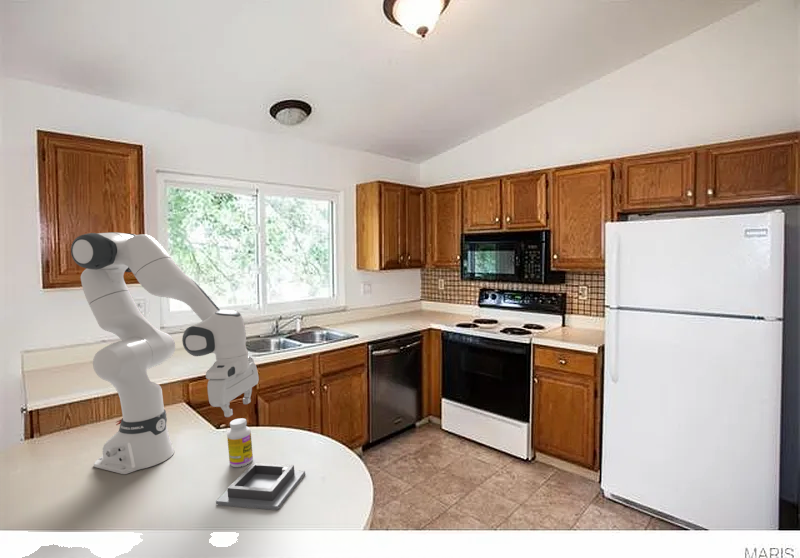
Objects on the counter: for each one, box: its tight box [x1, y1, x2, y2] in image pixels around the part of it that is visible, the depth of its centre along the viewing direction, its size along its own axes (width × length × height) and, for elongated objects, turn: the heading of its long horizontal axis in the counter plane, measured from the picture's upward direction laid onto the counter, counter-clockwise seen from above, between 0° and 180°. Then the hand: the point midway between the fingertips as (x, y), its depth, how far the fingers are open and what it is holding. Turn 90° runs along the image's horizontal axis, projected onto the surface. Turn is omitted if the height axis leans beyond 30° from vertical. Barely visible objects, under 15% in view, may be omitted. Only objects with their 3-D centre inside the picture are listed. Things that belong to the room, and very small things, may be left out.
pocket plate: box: [215, 462, 306, 511], centre depth 112 cm, size 17×16×4 cm
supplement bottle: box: [226, 417, 254, 468], centre depth 126 cm, size 7×7×13 cm
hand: (238, 409), depth 125 cm, fingers open, 8 cm apart
